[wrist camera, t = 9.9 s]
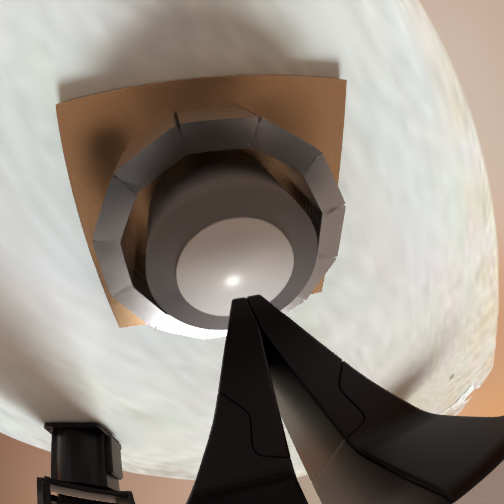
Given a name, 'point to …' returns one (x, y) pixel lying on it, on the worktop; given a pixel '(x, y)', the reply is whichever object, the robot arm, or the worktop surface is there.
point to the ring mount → (190, 143)
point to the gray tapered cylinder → (225, 239)
